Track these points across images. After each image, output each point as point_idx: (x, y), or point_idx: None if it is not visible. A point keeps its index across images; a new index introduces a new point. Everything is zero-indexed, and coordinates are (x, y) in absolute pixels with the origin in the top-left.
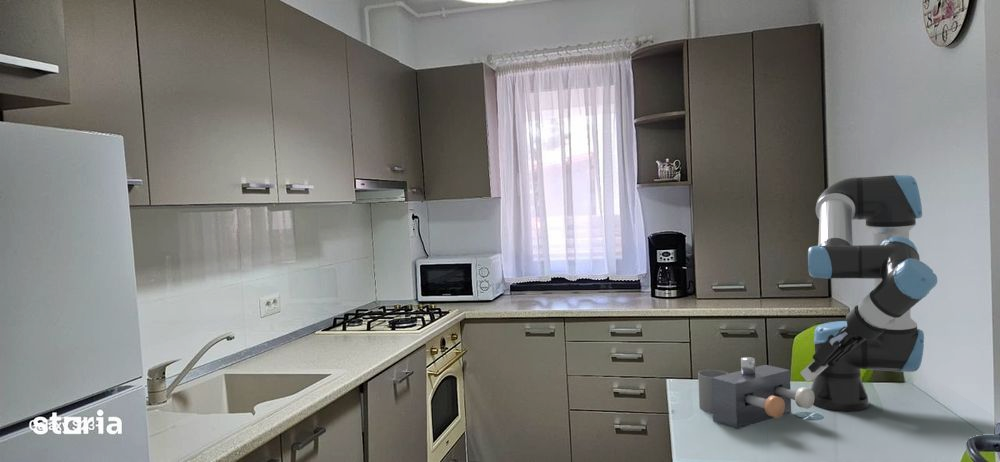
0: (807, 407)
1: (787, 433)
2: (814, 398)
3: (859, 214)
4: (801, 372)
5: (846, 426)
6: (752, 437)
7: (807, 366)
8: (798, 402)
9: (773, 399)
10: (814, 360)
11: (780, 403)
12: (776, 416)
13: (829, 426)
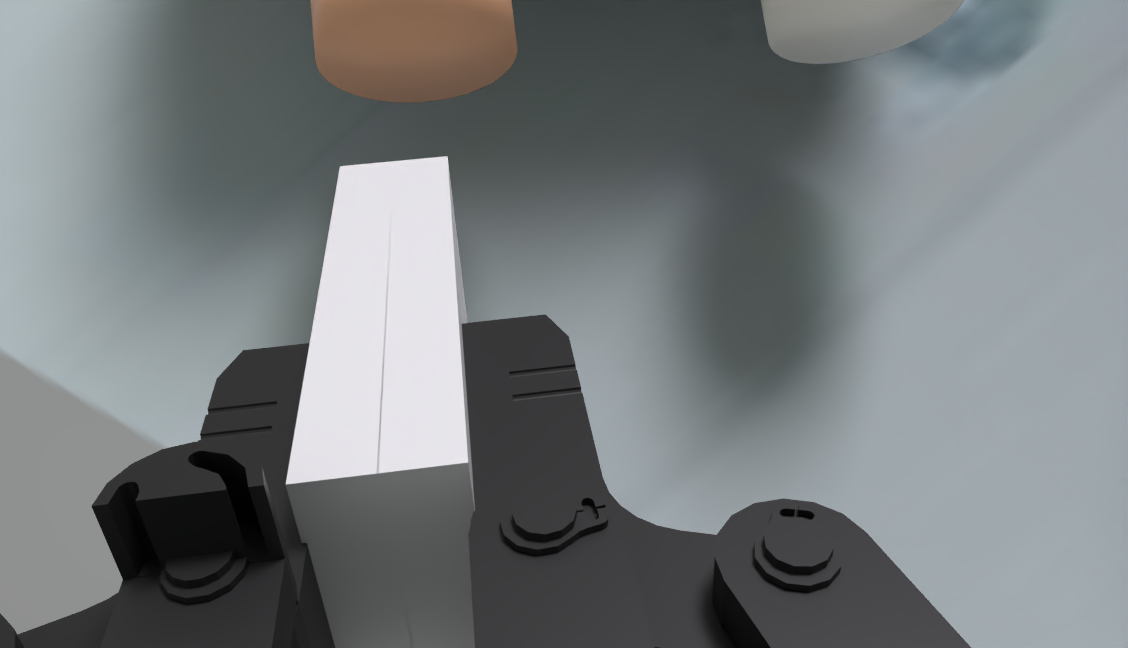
0: (822, 59)
1: (516, 167)
2: (948, 17)
3: None
4: (340, 188)
5: (1012, 278)
6: (232, 101)
7: (325, 271)
8: (761, 2)
9: (351, 5)
10: (303, 417)
11: (451, 37)
12: (395, 97)
13: (901, 216)
